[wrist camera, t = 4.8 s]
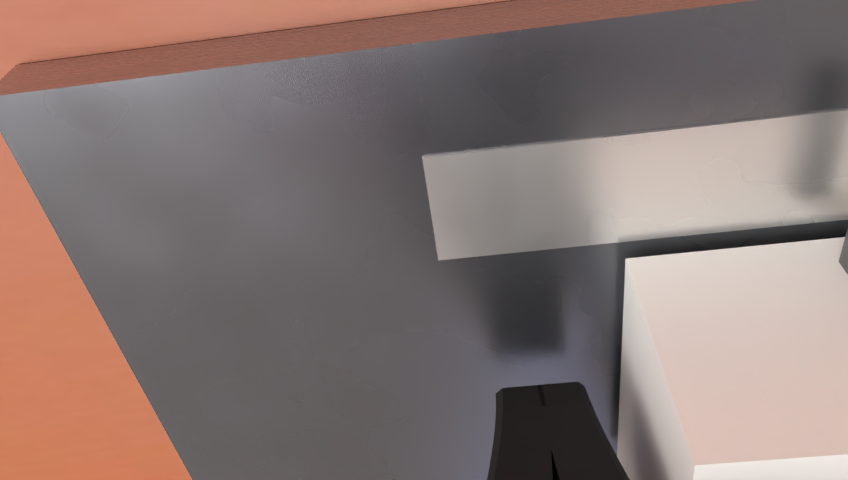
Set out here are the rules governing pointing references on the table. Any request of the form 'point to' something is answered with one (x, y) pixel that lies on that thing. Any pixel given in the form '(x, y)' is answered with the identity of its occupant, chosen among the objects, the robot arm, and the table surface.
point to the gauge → (736, 364)
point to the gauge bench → (419, 209)
